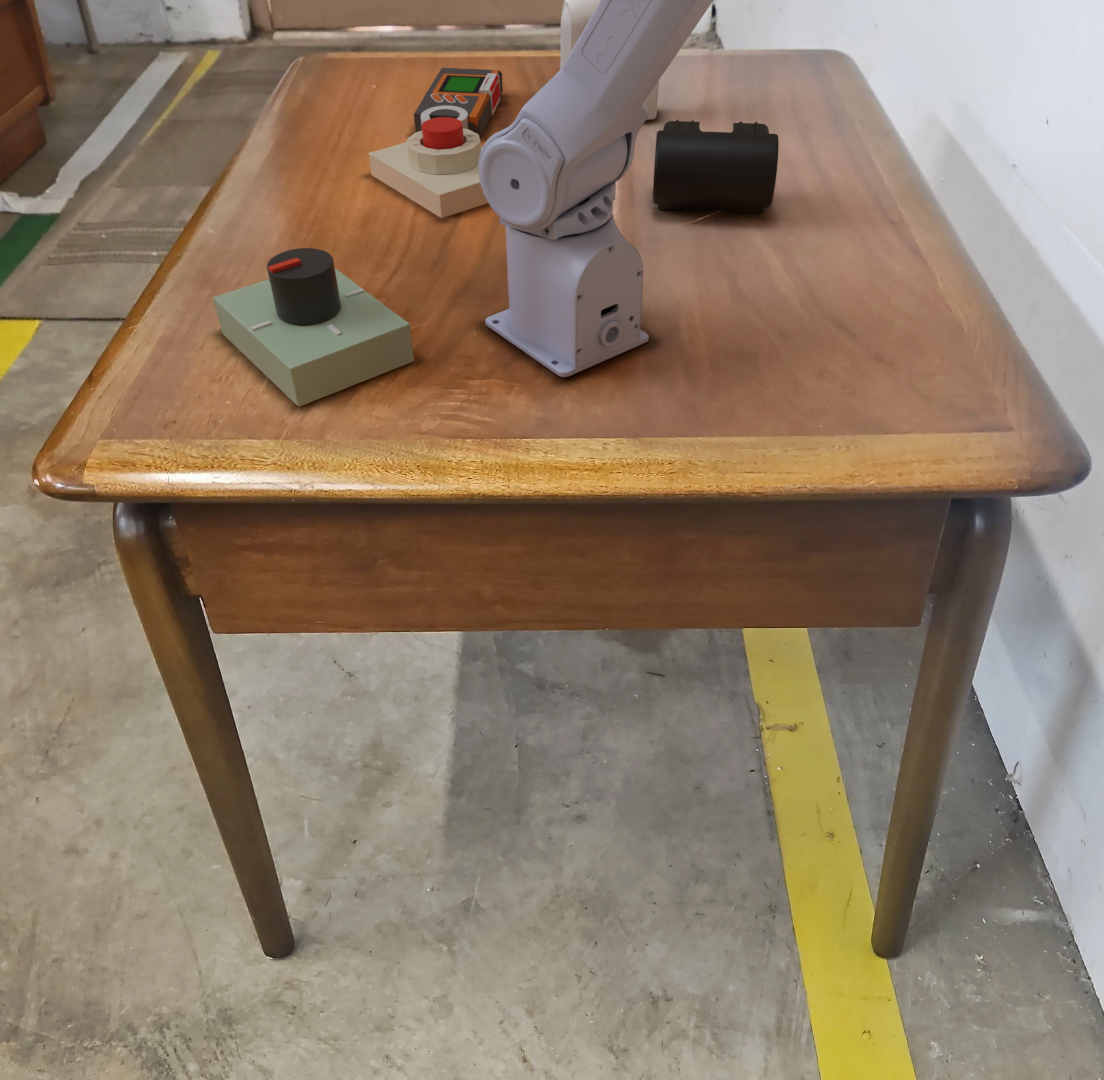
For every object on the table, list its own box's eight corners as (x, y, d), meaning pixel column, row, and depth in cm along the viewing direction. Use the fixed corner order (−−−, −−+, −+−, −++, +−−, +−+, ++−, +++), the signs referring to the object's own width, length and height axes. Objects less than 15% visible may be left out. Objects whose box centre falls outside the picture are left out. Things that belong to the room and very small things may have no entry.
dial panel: (414, 361, 71) (409, 321, 69) (298, 407, 67) (289, 366, 65) (331, 295, 78) (324, 257, 76) (221, 334, 74) (211, 294, 72)
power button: (471, 145, 91) (470, 125, 90) (437, 155, 89) (436, 134, 88) (449, 133, 93) (447, 113, 92) (415, 142, 92) (413, 123, 90)
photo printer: (650, 107, 108) (657, -23, 99) (662, 121, 105) (670, -12, 96) (555, 116, 106) (554, -15, 98) (565, 131, 103) (565, -4, 95)
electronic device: (407, 120, 99) (442, 62, 110) (410, 149, 101) (444, 90, 112) (475, 123, 98) (503, 65, 109) (477, 153, 100) (505, 93, 111)
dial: (322, 287, 73) (313, 237, 70) (352, 311, 70) (344, 260, 68) (265, 307, 71) (254, 256, 68) (295, 332, 68) (284, 280, 66)
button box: (525, 192, 92) (523, 147, 90) (441, 219, 88) (437, 173, 85) (451, 152, 99) (448, 110, 97) (371, 176, 95) (365, 132, 93)
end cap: (651, 223, 87) (655, 144, 83) (654, 189, 92) (658, 112, 88) (769, 228, 86) (780, 148, 82) (766, 193, 91) (776, 116, 87)
